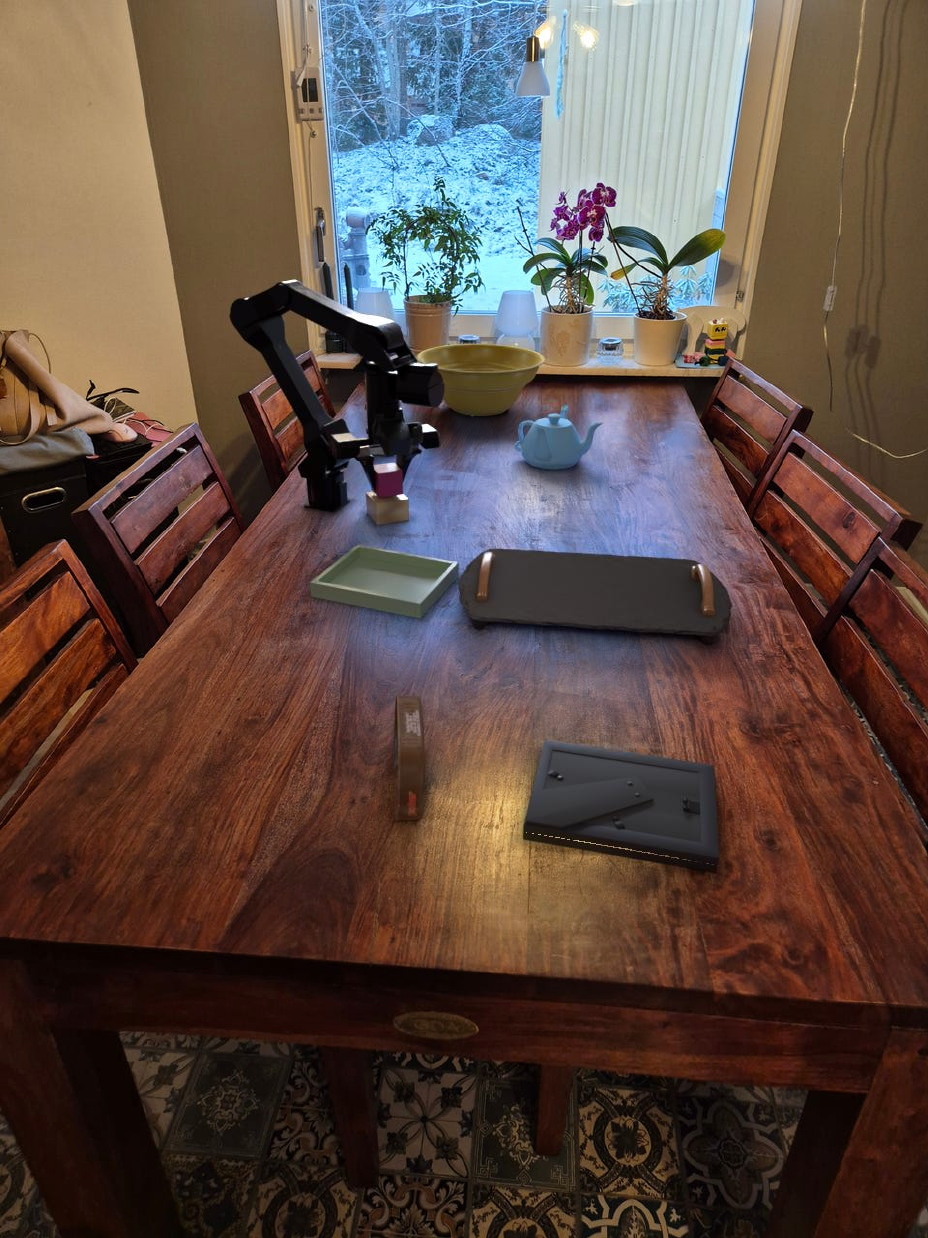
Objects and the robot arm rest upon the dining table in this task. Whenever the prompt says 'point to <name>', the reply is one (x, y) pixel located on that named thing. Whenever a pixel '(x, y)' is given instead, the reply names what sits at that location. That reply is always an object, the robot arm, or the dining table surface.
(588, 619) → the serving tray
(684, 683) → the dining table surface
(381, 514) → the birch block
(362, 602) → the green tray
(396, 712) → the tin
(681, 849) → the picture frame
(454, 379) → the planter bowl
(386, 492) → the mulberry block
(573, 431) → the teapot
